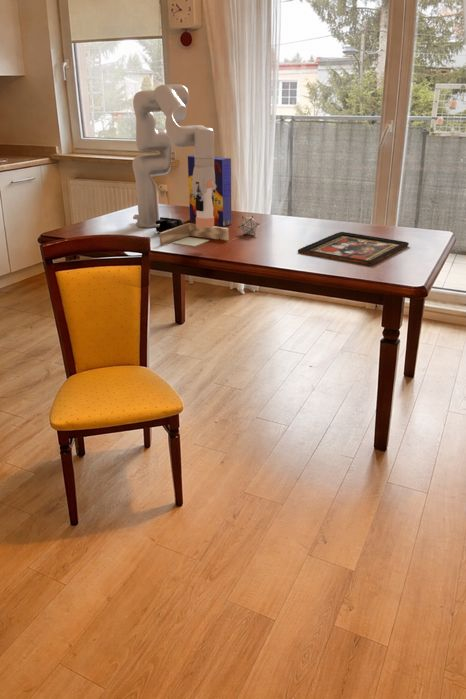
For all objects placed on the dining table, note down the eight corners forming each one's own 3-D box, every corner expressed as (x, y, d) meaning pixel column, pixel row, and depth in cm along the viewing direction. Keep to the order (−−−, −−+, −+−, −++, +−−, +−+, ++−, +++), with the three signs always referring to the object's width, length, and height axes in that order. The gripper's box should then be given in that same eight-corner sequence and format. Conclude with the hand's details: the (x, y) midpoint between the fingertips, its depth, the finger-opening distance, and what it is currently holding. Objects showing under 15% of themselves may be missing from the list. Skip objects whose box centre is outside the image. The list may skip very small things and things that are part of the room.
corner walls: (160, 244, 244) (159, 232, 242) (188, 234, 261) (187, 222, 259) (202, 251, 235) (201, 238, 233) (228, 239, 251) (228, 228, 249)
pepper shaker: (193, 224, 238) (192, 175, 229) (209, 222, 241) (209, 174, 232) (199, 228, 232) (199, 178, 223) (216, 226, 235) (216, 177, 226)
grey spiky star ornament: (251, 243, 260) (256, 228, 251) (234, 236, 260) (238, 220, 251) (258, 229, 264) (263, 214, 256) (241, 222, 264) (245, 207, 256)
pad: (172, 243, 246) (172, 242, 246) (187, 237, 255) (187, 237, 255) (194, 246, 241) (194, 245, 241) (209, 240, 250) (209, 240, 250)
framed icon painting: (330, 235, 259) (331, 228, 257) (410, 246, 242) (411, 239, 241) (293, 257, 229) (293, 250, 228) (381, 271, 213) (382, 263, 212)
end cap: (183, 233, 263) (182, 218, 260) (174, 236, 257) (173, 221, 255) (164, 230, 267) (163, 215, 265) (155, 234, 262) (154, 219, 259)
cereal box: (190, 220, 287) (187, 155, 275) (198, 217, 291) (196, 154, 279) (222, 226, 274) (221, 159, 261) (231, 224, 278) (230, 157, 265)
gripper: (208, 158, 234) (208, 203, 242) (183, 164, 220) (184, 212, 228) (224, 160, 231) (224, 206, 238) (200, 166, 217) (200, 214, 225)
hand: (204, 208), depth 233 cm, fingers closed on pepper shaker, 6 cm apart
